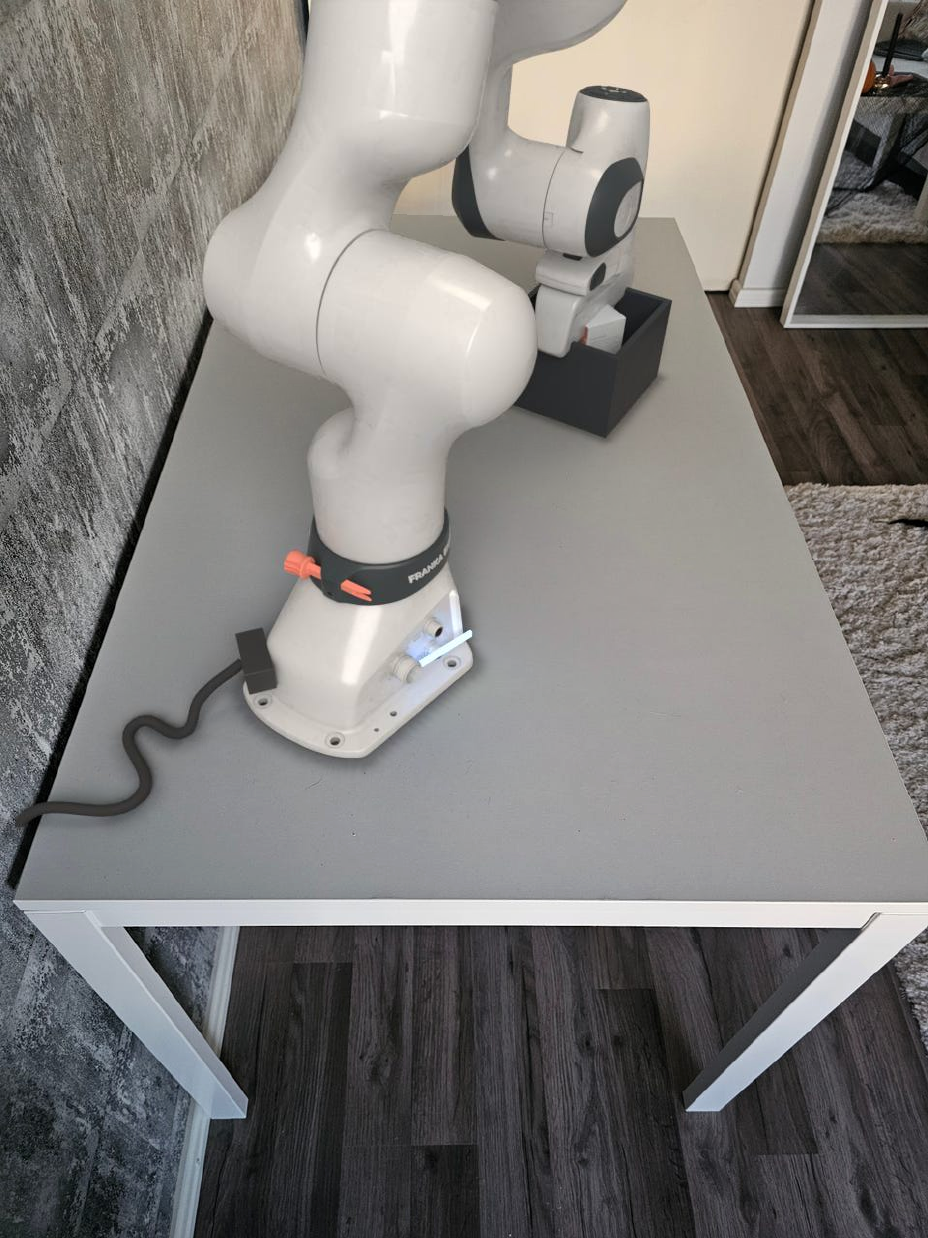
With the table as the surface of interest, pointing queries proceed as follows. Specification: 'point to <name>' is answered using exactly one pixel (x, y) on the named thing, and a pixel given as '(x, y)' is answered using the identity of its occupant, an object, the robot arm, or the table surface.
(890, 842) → the table surface
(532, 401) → the trash bin
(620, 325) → the small box
